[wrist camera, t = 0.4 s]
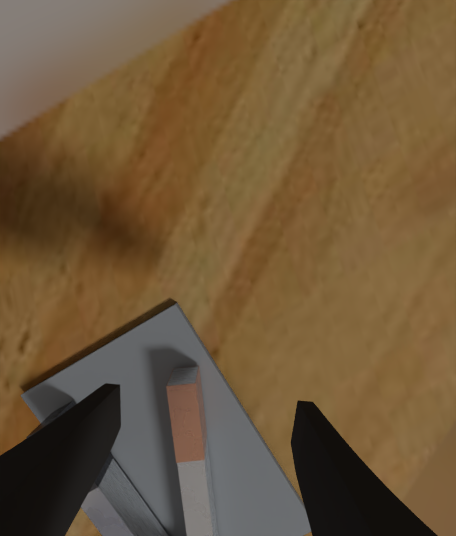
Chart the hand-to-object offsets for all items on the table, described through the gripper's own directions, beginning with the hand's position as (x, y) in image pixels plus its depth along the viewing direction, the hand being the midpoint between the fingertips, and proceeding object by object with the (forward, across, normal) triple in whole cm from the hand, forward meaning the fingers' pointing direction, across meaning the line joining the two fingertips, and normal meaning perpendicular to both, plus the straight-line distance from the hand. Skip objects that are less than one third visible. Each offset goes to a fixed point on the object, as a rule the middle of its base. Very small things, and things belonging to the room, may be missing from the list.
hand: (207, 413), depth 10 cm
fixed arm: (+8, +8, +15) cm, 19 cm away
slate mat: (+9, +3, +13) cm, 16 cm away
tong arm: (+8, +2, +14) cm, 17 cm away
